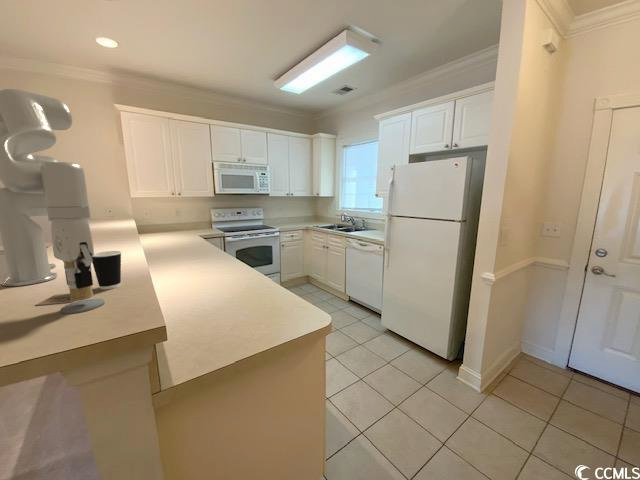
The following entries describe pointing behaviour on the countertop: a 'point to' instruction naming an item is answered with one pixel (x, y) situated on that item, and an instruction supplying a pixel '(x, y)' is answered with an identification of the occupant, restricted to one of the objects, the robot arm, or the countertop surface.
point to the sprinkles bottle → (75, 292)
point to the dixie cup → (107, 268)
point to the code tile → (56, 299)
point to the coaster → (82, 306)
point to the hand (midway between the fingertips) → (80, 284)
